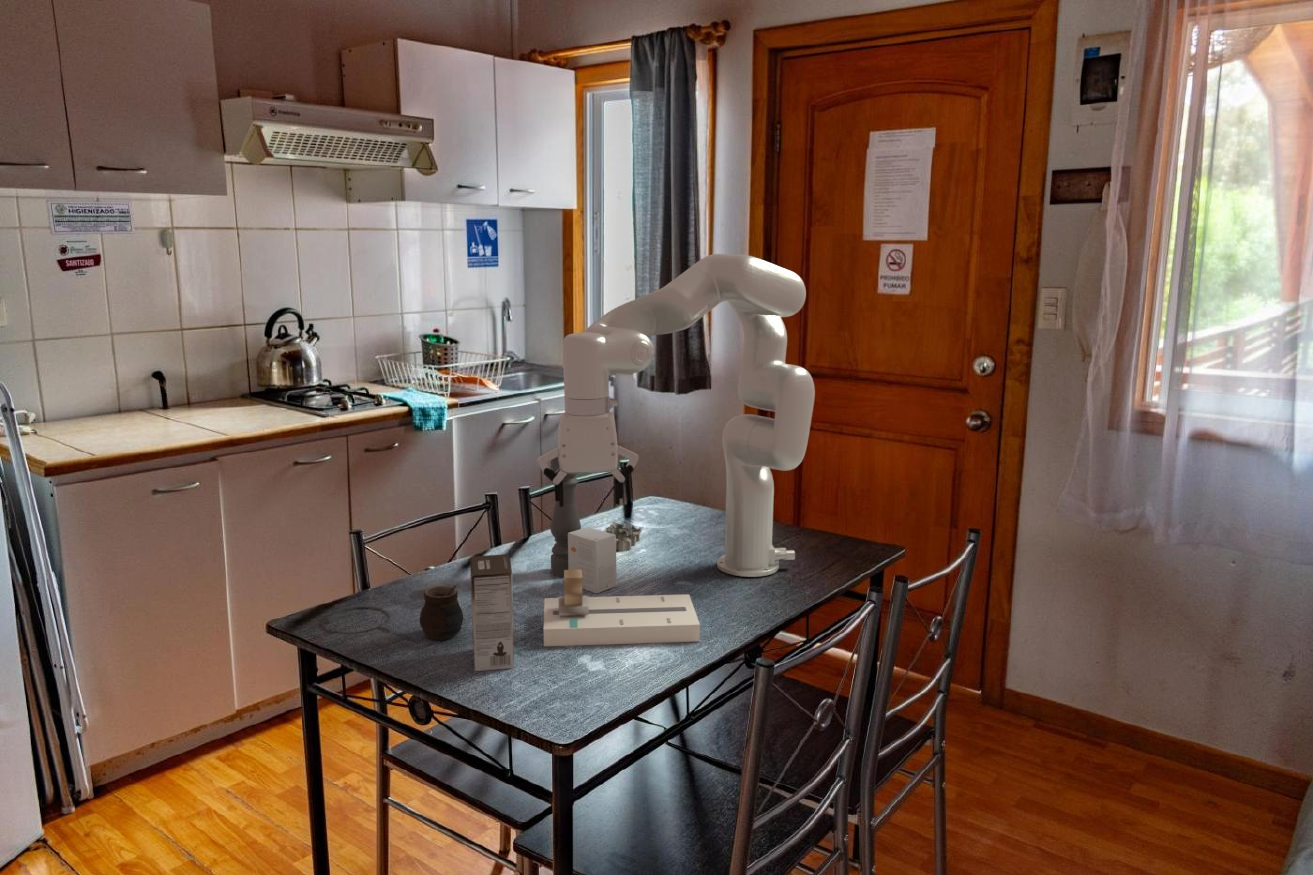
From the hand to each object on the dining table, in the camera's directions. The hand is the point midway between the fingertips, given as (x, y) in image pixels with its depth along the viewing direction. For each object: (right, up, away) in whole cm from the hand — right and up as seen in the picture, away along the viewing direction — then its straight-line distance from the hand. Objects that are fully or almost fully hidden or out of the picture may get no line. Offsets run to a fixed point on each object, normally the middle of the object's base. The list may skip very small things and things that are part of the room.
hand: (589, 503), depth 172 cm
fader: (-3, -18, -1) cm, 18 cm away
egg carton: (+4, -12, +46) cm, 48 cm away
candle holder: (-7, -16, +28) cm, 33 cm away
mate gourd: (-25, -22, -3) cm, 33 cm away
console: (+5, -22, +1) cm, 22 cm away
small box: (-1, -17, +21) cm, 27 cm away
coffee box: (-15, -24, -12) cm, 31 cm away
